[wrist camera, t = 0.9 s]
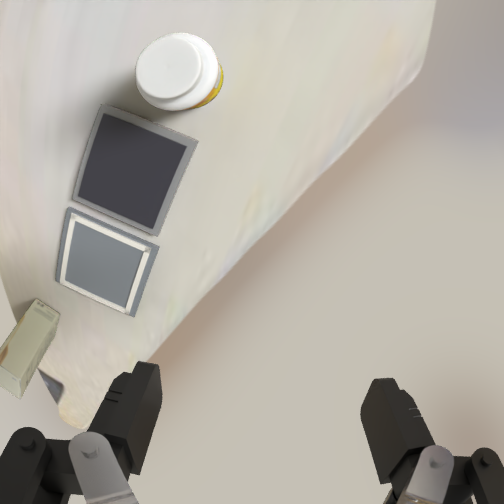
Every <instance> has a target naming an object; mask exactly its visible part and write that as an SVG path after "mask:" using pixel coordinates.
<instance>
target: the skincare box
mask: <svg viewBox="0 0 504 504" xmlns="http://www.w3.org/2000/svg"><path fill="white" fill-rule="evenodd" d="M59 316H60V314H59V313H57V312H56V311H54V310H53V309H51V308H50V307H48V306H47V305H45V304H44V303H42V302H41V301H39V300H37V299H35V301H34V302H33V303H32V304H31V306H30V307H29V308H28V310H27V311H26V312H25V314H24V315H23V317H22V318H21V319H20V321H19V322H18V323H17V325H16V326H15V328H14V329H13V331H12V332H11V333H10V335H9V336H8V338H7V339H6V341H5V342H4V344H3V345H2V347H1V348H0V386H1V387H2V388H4V389H5V390H7V391H8V392H9V393H11V394H12V395H14V396H15V397H17V398H18V399H21V398H22V396H23V394H24V392H25V390H26V388H27V386H28V384H29V382H30V380H31V378H32V376H33V374H34V372H35V370H36V369H37V367H38V365H39V363H40V362H41V360H42V358H43V356H44V354H45V353H46V351H47V349H48V347H49V346H50V344H51V342H52V341H53V339H54V336H55V333H56V329H57V325H58V321H59Z"/></svg>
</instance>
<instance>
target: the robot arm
mask: <svg viewBox="0 0 504 504" xmlns="http://www.w3.org/2000/svg"><path fill="white" fill-rule="evenodd" d="M161 404H162V387H161V379H160V369H159V366H158V364H153V363H147V362H141V361H138V362H137V364H136V366H135V368H134V370H133V372H132V373H127V372H123V373H122V374H120V375H119V376H118V377H117V378H115V379H114V380H113V382H112V384H111V386H110V388H109V391H108V392H107V393H106V395H105V397H104V400H103V401H102V403H101V405H100V407H99V409H98V411H97V413H96V415H95V417H94V419H93V421H92V423H91V425H90V427H89V429H88V430H87V432H83V433H80V434H78V435H76V436H75V437H74V438H73V439H72V440H54V439H46V438H45V437H44V435H43V434H42V433H41V432H40V431H39V430H37V429H35V428H32V427H24V428H21V429H18V430H17V431H16V432H14V433H13V435H12V436H11V438H10V440H9V442H8V443H7V445H6V447H5V449H4V451H3V453H2V455H1V456H0V504H68V501H69V497H70V495H71V494H77V495H84V497H85V500H86V502H87V504H139V503H138V501H137V499H136V498H135V496H134V494H133V492H132V490H131V488H130V486H129V484H128V479H129V476H130V473H132V474H136V475H140V472H141V468H142V466H143V462H144V459H145V456H146V453H147V449H148V446H149V443H150V440H151V437H152V433H153V430H154V427H155V424H156V421H157V418H158V414H159V412H160V408H161ZM360 415H361V421H362V424H363V428H364V431H365V434H366V437H367V440H368V444H369V446H370V450H371V453H372V457H373V460H374V464H375V467H376V470H377V474H378V477H379V481H380V484H385V483H391V484H392V488H391V490H390V491H389V493H388V495H387V497H386V499H385V501H384V503H383V504H473V502H472V499H471V496H472V495H473V494H474V496H475V499H476V502H477V504H504V467H503V465H502V463H501V461H500V459H499V457H498V455H497V454H496V453H495V452H494V451H493V450H491V449H489V448H479V449H477V450H476V451H475V452H474V453H473V454H472V456H471V457H463V456H453V455H452V454H451V452H450V451H449V450H447V449H446V448H444V447H442V446H439V445H435V442H434V440H433V438H432V436H431V434H430V432H429V430H428V428H427V426H426V424H425V422H424V419H423V417H421V413H420V411H419V410H418V409H417V406H416V404H415V402H414V400H413V398H412V397H411V396H410V395H409V394H408V393H407V392H406V391H405V390H400V389H399V387H398V385H397V383H396V381H395V379H393V378H381V379H374V380H373V381H372V383H371V386H370V388H369V390H368V393H367V395H366V397H365V400H364V402H363V404H362V407H361V414H360Z"/></svg>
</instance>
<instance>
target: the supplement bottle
mask: <svg viewBox="0 0 504 504" xmlns="http://www.w3.org/2000/svg"><path fill="white" fill-rule="evenodd" d="M135 80H136V85H137V88H138V90H139V92H140V94H141V95H142V97H143V98H144V99H145V100H146V101H147V102H148V103H150V104H151V105H153V106H155V107H157V108H160V109H163V110H169V111H178V110H185V109H193V108H198V107H201V106H204V105H206V104H207V103H209V102H210V101H212V100H213V99H214V98H215V97H216V96H217V94H218V93H219V91H220V89H221V87H222V83H223V71H222V67H221V65H220V63H219V60H218V58H217V56H216V54H215V52H214V51H213V49H212V48H211V46H210V45H209V44H208V43H207V42H206V41H204V40H203V39H201V38H200V37H198V36H196V35H193V34H189V33H172V34H168V35H164V36H162V37H160V38H158V39H156V40H155V41H153V42H152V43H150V44H149V45H148V46H147V47H146V48H145V49H144V50H143V51H142V52H141V54H140V56H139V58H138V60H137V63H136V68H135Z"/></svg>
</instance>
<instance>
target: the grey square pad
mask: <svg viewBox="0 0 504 504" xmlns="http://www.w3.org/2000/svg"><path fill="white" fill-rule="evenodd" d="M158 250H159V246H157V245H155V244H152V243H150V242H148V241H145V240H143V239H141V238H138V237H136V236H134V235H132V234H129V233H127V232H125V231H123V230H120V229H118V228H116V227H114V226H111V225H109V224H107V223H105V222H102V221H100V220H98V219H96V218H94V217H91V216H89V215H87V214H85V213H83V212H80V211H78V210H76V209H74V208H72V207H69V208H68V209H67V213H66V218H65V223H64V228H63V233H62V239H61V245H60V251H59V258H58V265H57V273H56V281H57V282H59V283H61V284H63V285H65V286H67V287H69V288H71V289H73V290H75V291H77V292H79V293H81V294H83V295H85V296H87V297H89V298H92V299H94V300H96V301H98V302H100V303H102V304H105V305H107V306H109V307H111V308H114V309H116V310H118V311H120V312H123V313H125V314H127V315H130V316H132V317H135V314H136V311H137V308H138V305H139V302H140V299H141V297H142V294H143V291H144V288H145V285H146V282H147V279H148V277H149V274H150V271H151V268H152V266H153V263H154V260H155V258H156V255H157V252H158Z"/></svg>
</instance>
